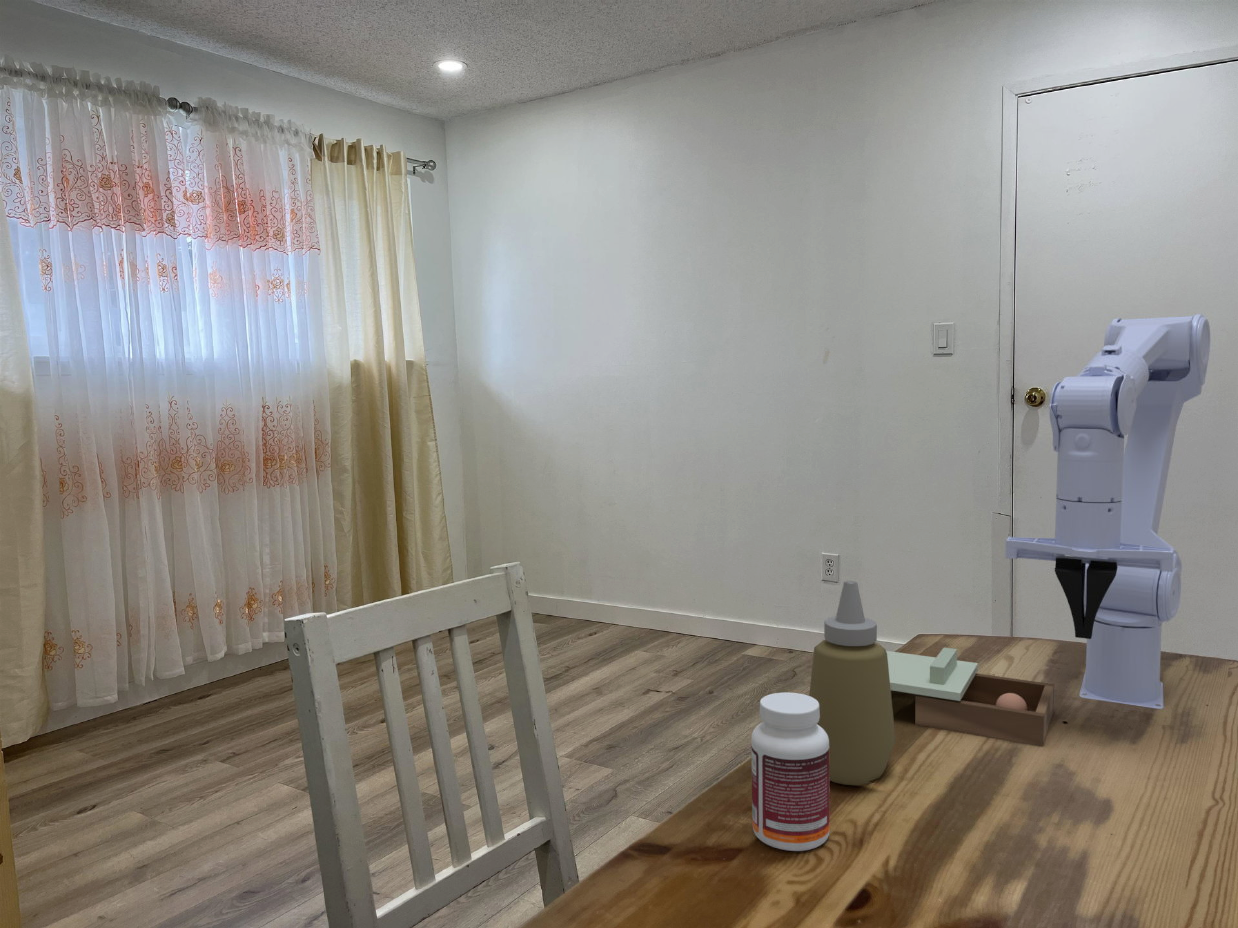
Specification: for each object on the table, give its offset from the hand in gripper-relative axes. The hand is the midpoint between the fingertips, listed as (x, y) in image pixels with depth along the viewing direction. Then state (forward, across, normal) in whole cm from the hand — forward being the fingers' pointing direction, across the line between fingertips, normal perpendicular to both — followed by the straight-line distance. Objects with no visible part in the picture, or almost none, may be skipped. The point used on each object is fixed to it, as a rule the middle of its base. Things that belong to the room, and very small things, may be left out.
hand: (1083, 635), depth 90 cm
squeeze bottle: (+11, -18, -18) cm, 28 cm away
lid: (+7, -17, 0) cm, 18 cm away
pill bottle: (+11, -19, -31) cm, 38 cm away
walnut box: (+10, -9, 0) cm, 14 cm away
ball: (+10, -6, 0) cm, 12 cm away
